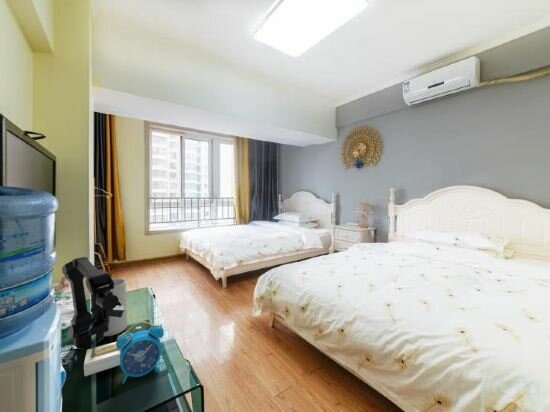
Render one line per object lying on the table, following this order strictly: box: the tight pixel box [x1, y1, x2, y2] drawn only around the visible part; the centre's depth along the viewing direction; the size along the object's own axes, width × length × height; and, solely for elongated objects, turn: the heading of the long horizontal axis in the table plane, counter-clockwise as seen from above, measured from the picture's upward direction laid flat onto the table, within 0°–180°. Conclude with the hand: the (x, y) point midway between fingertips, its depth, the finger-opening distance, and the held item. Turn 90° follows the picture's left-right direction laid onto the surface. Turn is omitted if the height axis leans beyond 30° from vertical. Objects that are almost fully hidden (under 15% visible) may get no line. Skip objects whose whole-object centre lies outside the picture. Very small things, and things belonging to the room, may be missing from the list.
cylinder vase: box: [102, 278, 128, 337], centre depth 125 cm, size 12×12×25 cm
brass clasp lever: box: [96, 344, 117, 356], centre depth 103 cm, size 10×3×1 cm, turn 122°
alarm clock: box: [115, 320, 165, 385], centre depth 96 cm, size 17×10×20 cm, turn 120°
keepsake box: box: [83, 341, 121, 377], centre depth 102 cm, size 15×10×7 cm
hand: (101, 339), depth 101 cm, fingers closed
